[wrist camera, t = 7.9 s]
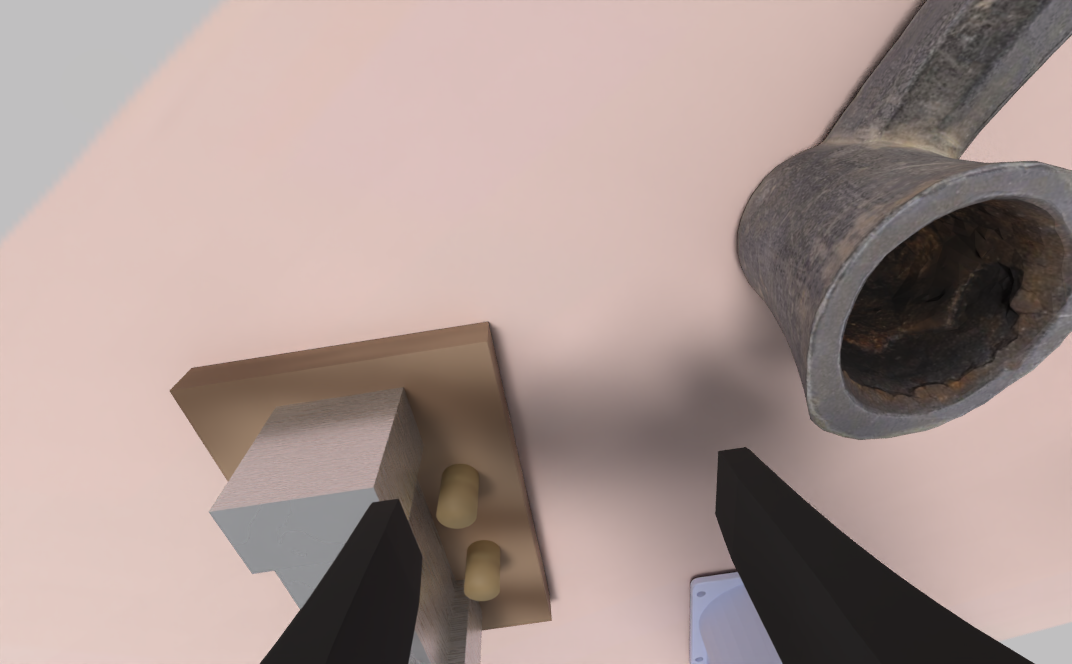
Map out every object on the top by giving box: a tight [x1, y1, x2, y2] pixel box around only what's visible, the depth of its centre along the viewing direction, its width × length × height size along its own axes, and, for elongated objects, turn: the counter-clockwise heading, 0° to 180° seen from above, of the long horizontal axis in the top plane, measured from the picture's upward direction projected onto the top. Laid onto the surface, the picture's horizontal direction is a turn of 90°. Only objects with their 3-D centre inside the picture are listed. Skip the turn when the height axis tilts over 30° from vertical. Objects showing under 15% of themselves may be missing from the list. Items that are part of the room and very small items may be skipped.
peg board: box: [170, 322, 552, 630], centre depth 23 cm, size 18×12×4 cm, turn 8°
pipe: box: [738, 0, 1072, 440], centre depth 14 cm, size 6×13×8 cm, turn 155°
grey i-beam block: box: [209, 387, 482, 664], centre depth 21 cm, size 15×5×5 cm, turn 8°
